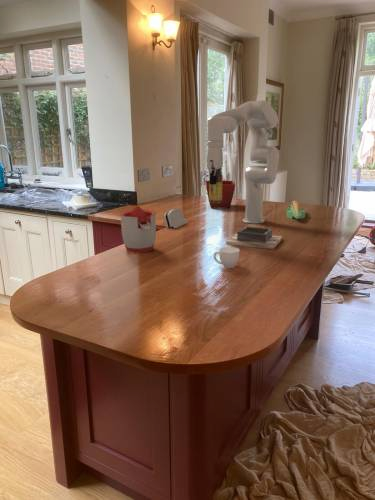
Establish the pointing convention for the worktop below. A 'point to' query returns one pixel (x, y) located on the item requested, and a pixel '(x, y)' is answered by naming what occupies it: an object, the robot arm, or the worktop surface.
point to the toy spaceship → (295, 211)
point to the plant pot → (223, 194)
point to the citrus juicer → (138, 229)
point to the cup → (228, 256)
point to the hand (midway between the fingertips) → (215, 182)
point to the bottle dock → (255, 238)
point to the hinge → (174, 218)
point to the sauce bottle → (216, 188)
